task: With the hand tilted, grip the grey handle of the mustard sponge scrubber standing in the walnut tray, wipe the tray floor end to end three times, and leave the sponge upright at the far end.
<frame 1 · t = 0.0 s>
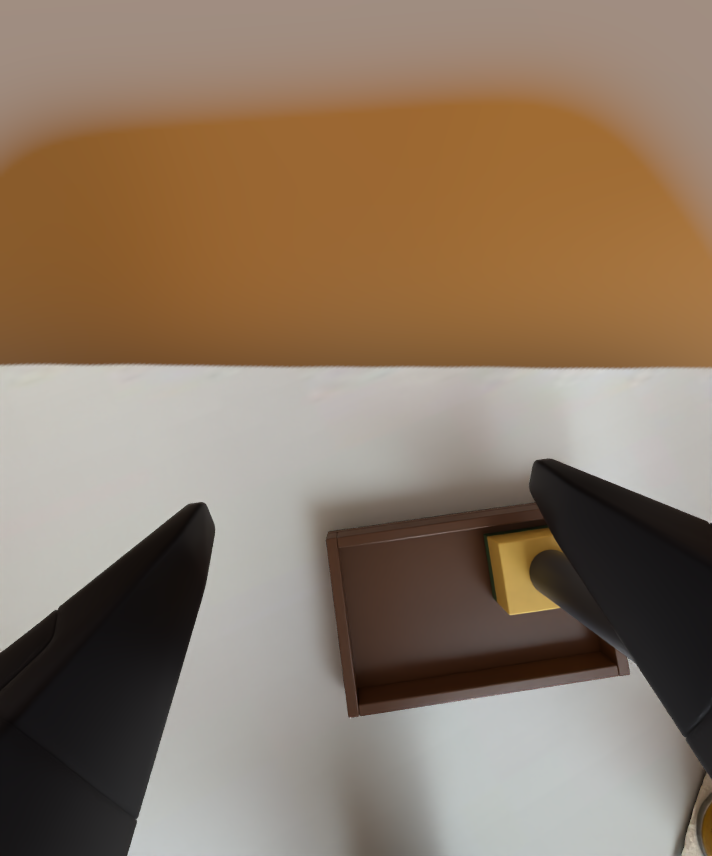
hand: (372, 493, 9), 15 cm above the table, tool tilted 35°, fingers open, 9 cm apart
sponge: (530, 560, 23), point 1 cm above the table, touching tray
tray: (466, 592, 24), on the table
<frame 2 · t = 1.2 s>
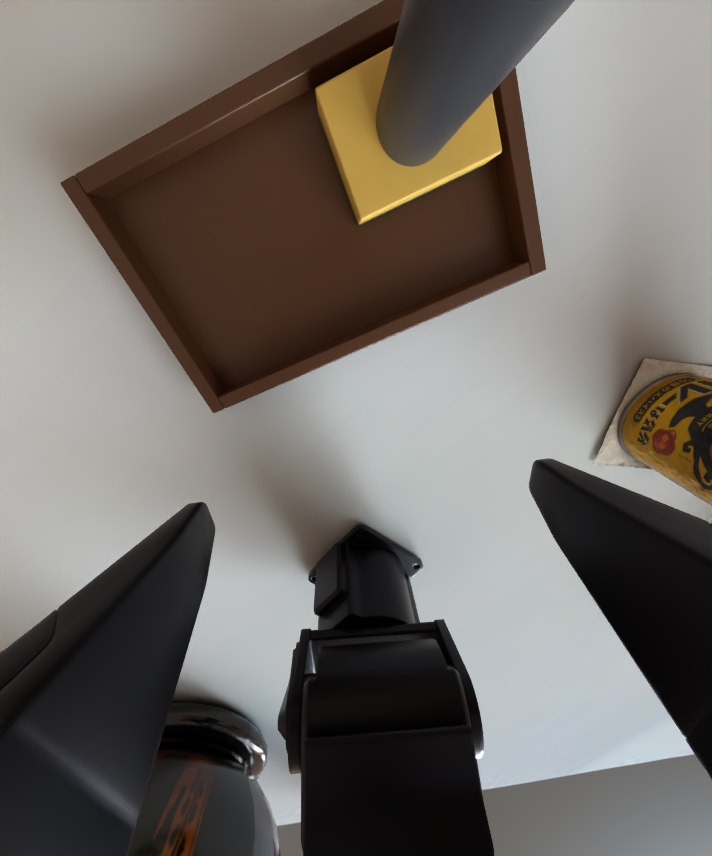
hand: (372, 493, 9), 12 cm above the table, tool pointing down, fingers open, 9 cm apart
condiment: (670, 418, 22), on the table
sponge: (401, 142, 15), point 1 cm above the table, touching tray
amphora vase: (191, 736, 36), on the table
tray: (323, 233, 17), on the table
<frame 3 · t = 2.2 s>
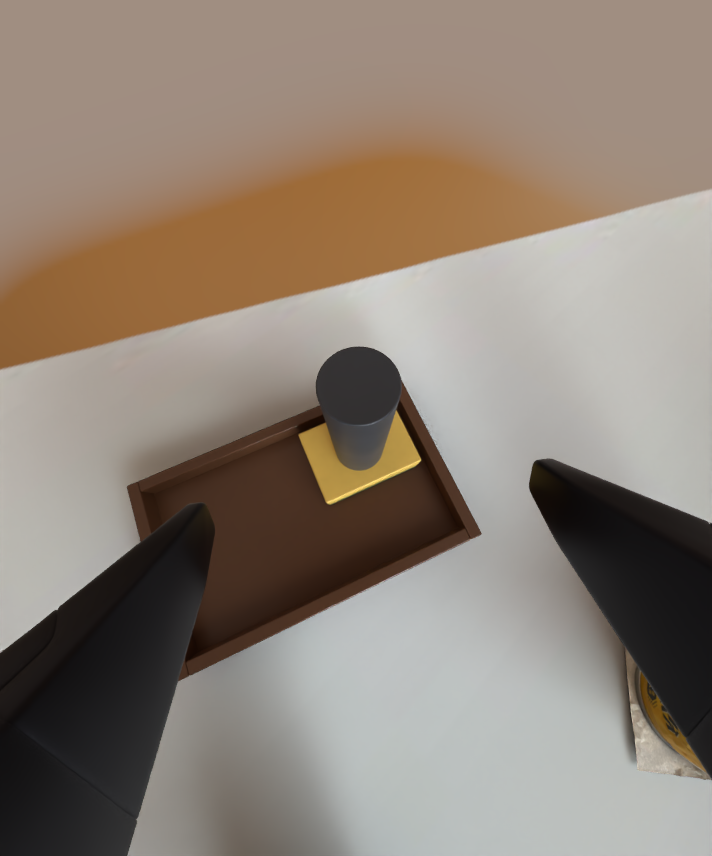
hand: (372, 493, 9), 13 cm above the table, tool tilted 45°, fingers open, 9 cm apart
condiment: (701, 695, 19), on the table
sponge: (359, 455, 22), point 1 cm above the table, touching tray
tray: (305, 510, 22), on the table
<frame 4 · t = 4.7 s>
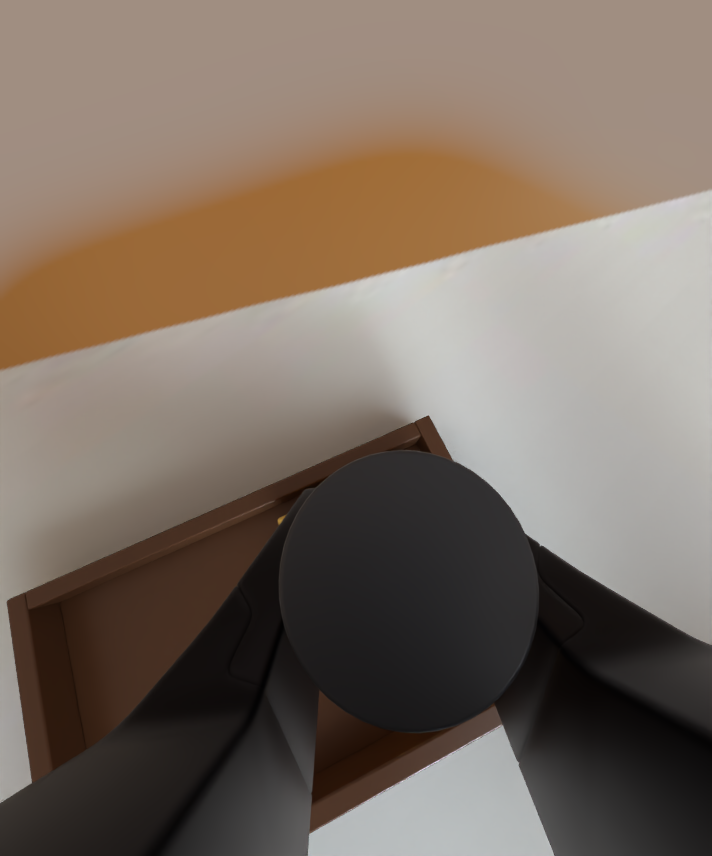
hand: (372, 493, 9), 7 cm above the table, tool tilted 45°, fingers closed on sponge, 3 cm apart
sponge: (371, 538, 15), point 1 cm above the table, touching gripper, tray
tray: (290, 625, 14), on the table
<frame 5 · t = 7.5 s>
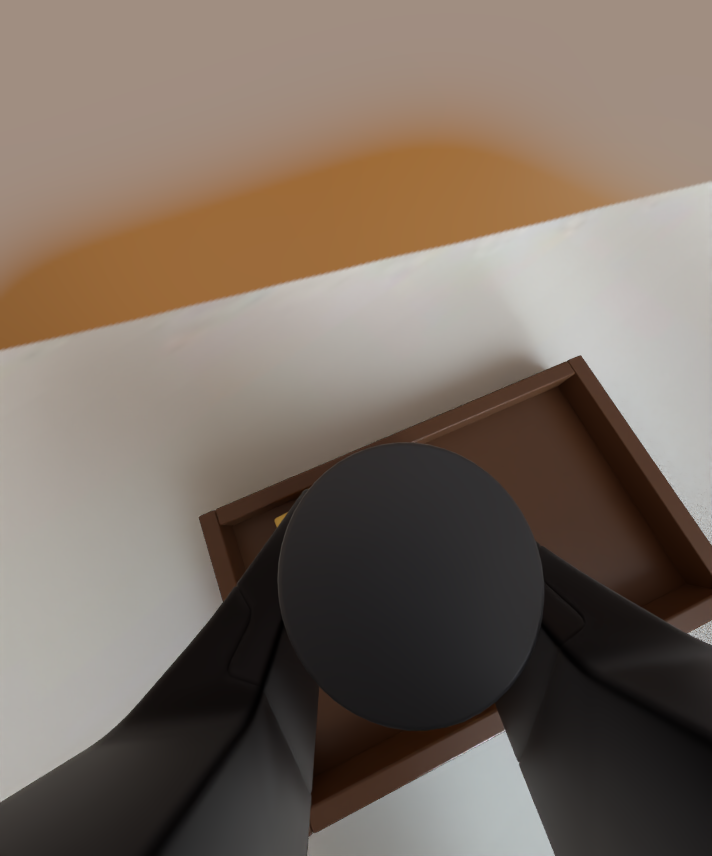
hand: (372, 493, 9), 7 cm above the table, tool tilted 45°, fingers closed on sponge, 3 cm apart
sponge: (369, 535, 15), point 1 cm above the table, touching gripper
tray: (448, 552, 15), on the table
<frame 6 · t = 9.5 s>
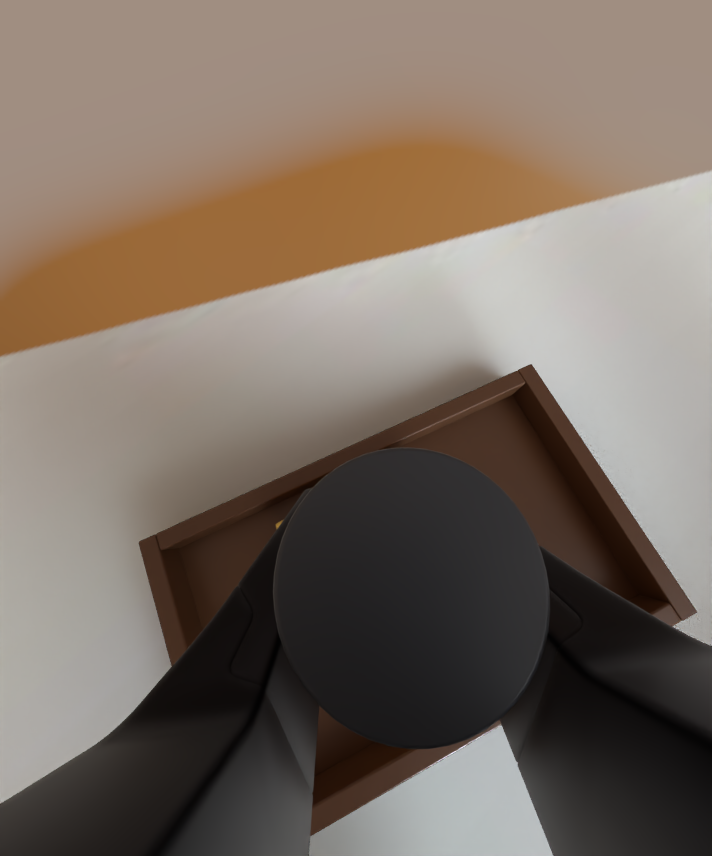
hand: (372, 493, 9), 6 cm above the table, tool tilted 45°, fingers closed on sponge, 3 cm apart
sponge: (372, 539, 15), point 1 cm above the table, touching gripper
tray: (401, 569, 15), on the table
when the fingers open (6 cm above the table, at t = 10.5 s): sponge stays where it is, resting on tray.
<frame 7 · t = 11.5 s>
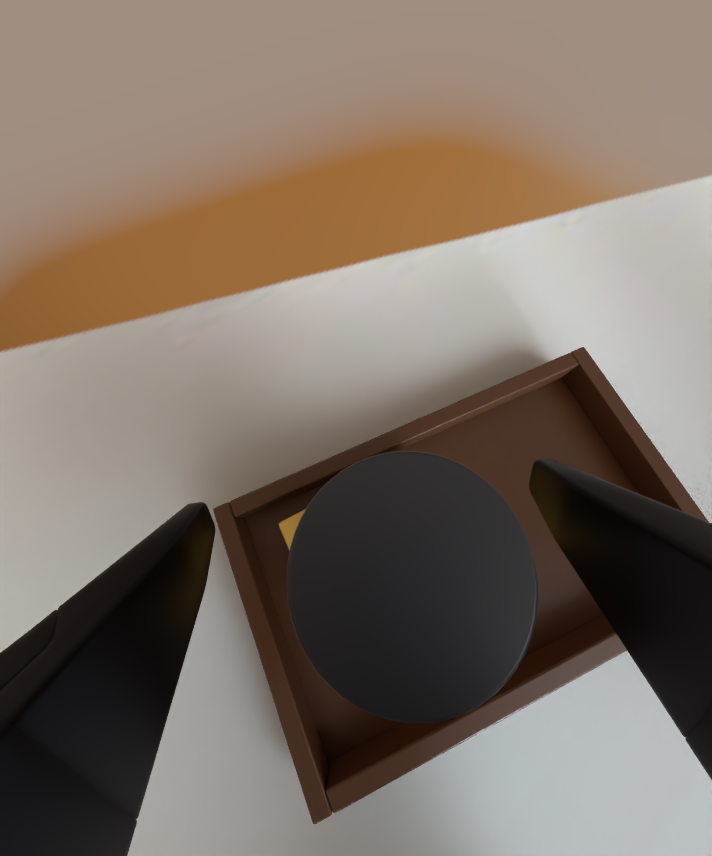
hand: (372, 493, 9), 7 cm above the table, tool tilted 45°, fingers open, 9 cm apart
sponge: (372, 538, 15), point 1 cm above the table, touching tray
tray: (457, 541, 15), on the table
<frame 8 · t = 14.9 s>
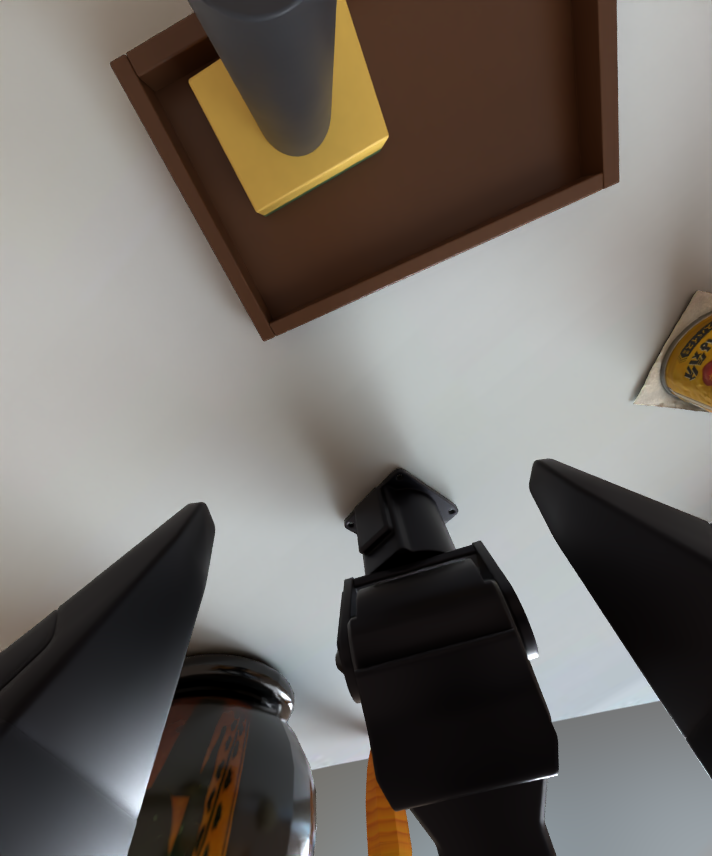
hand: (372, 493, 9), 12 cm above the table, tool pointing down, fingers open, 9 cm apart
carrot: (377, 732, 45), on the table
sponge: (297, 128, 15), point 1 cm above the table, touching tray
amphora vase: (218, 688, 37), on the table
tray: (384, 142, 16), on the table
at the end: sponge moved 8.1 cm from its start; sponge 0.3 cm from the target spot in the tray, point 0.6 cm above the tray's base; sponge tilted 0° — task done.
